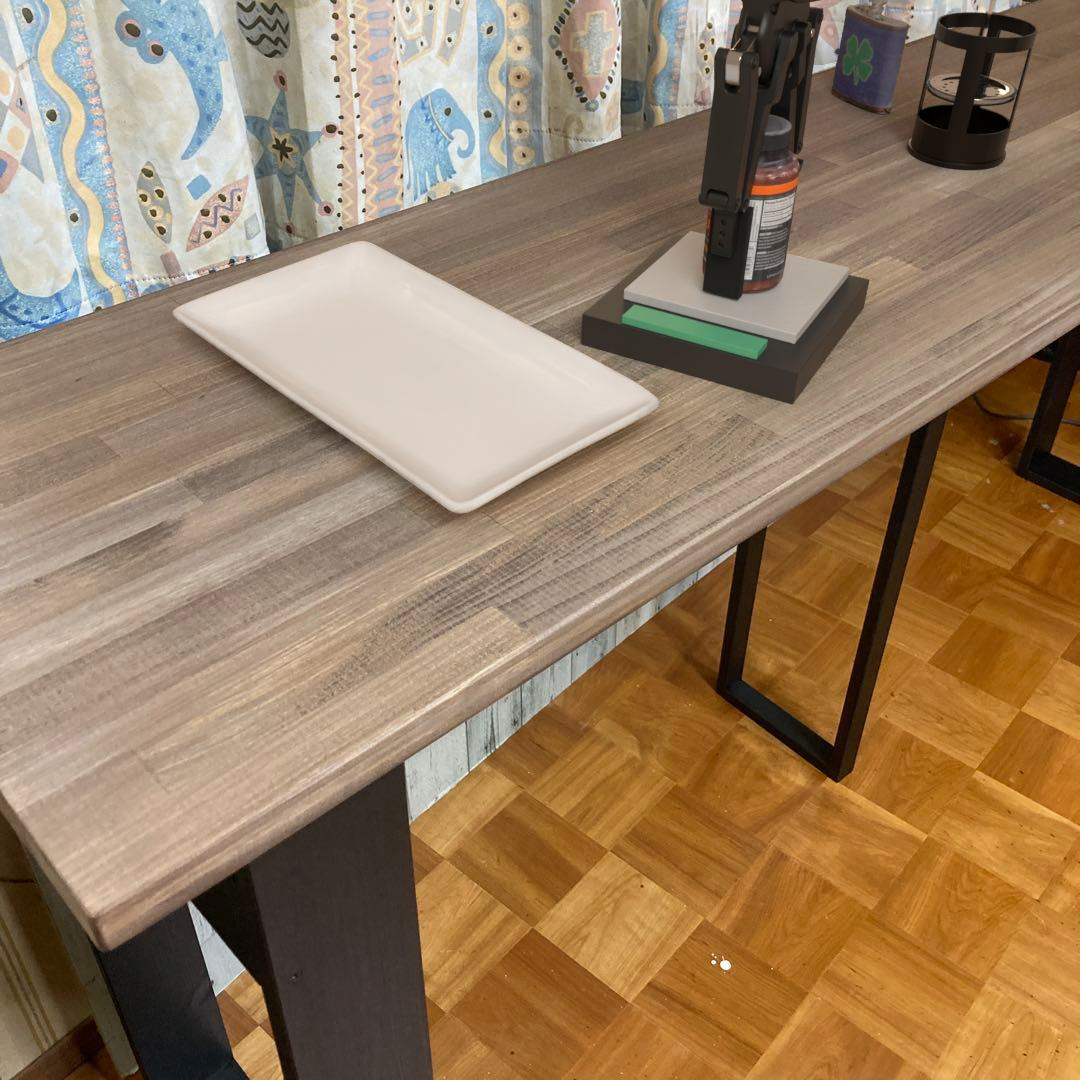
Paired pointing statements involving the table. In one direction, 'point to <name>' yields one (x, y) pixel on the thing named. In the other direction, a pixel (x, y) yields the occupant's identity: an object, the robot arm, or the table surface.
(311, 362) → the tray
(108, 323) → the table surface
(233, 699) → the table surface
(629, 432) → the table surface
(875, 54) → the flask
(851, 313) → the scale
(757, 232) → the supplement bottle
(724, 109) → the robot arm
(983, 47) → the french press
